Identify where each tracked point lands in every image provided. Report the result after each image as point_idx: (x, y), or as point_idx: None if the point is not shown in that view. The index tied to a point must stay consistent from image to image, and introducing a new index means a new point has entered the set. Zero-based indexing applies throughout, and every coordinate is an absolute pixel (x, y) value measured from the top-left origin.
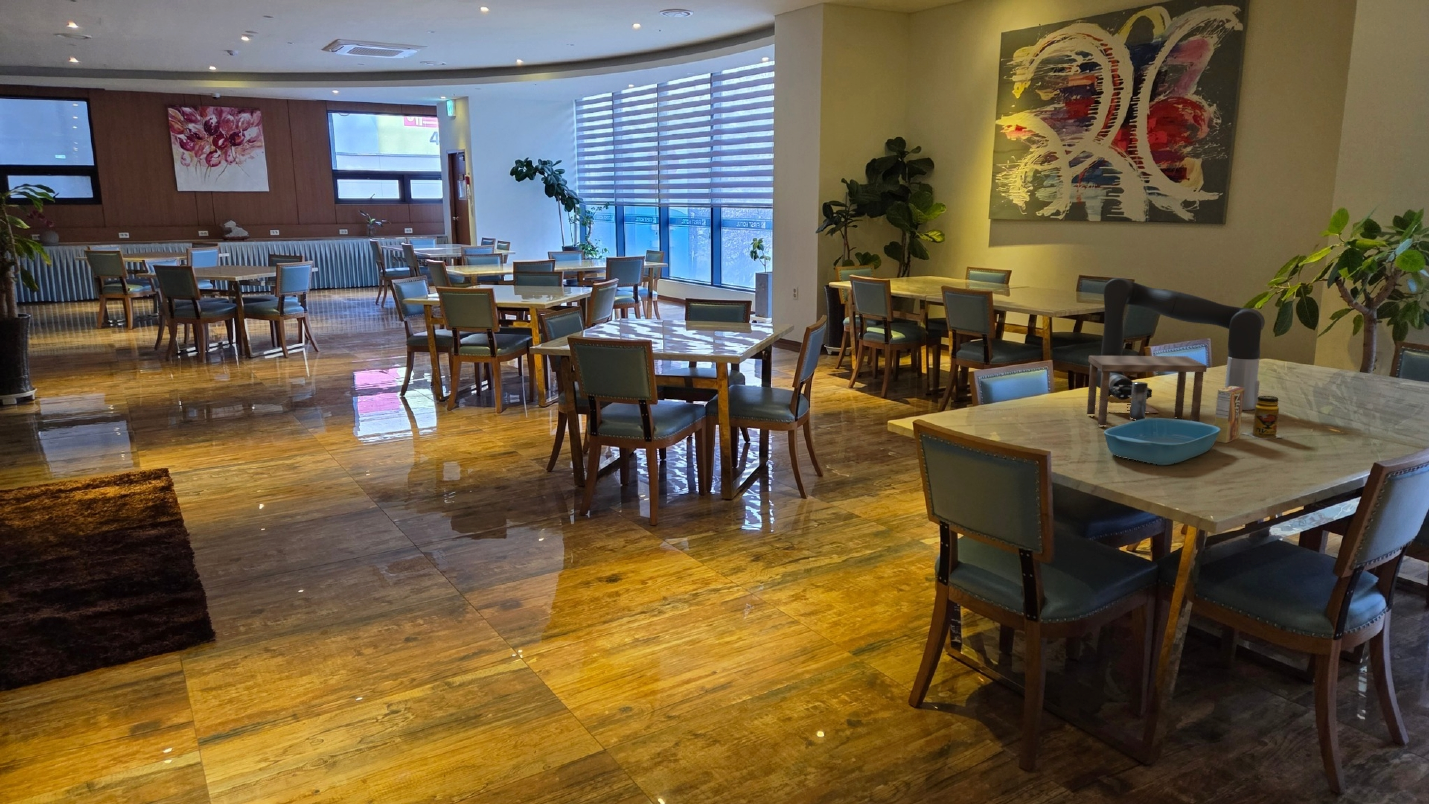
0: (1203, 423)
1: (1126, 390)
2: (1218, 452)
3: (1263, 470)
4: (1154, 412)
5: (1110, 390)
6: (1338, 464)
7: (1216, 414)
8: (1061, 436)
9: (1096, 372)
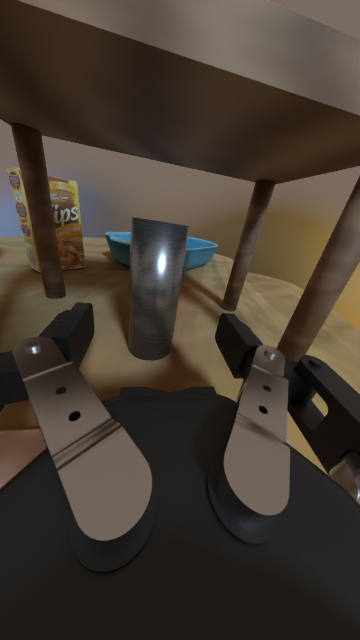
0: (112, 236)
1: (185, 394)
2: (110, 257)
3: (104, 245)
4: (14, 431)
5: (296, 364)
6: (23, 239)
7: (80, 227)
8: (263, 288)
9: (346, 206)
